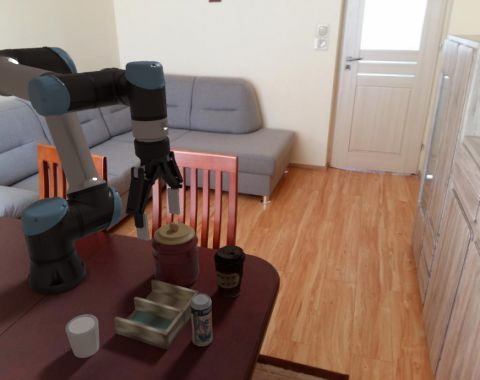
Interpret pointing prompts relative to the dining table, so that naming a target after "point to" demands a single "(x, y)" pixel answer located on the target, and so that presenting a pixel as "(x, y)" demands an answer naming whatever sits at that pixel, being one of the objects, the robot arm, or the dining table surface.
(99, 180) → the robot arm
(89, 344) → the shot glass
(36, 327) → the dining table surface
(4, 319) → the dining table surface
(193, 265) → the canister
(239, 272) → the coffee cup
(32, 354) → the dining table surface
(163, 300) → the caddy
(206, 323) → the beer can
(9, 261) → the dining table surface
